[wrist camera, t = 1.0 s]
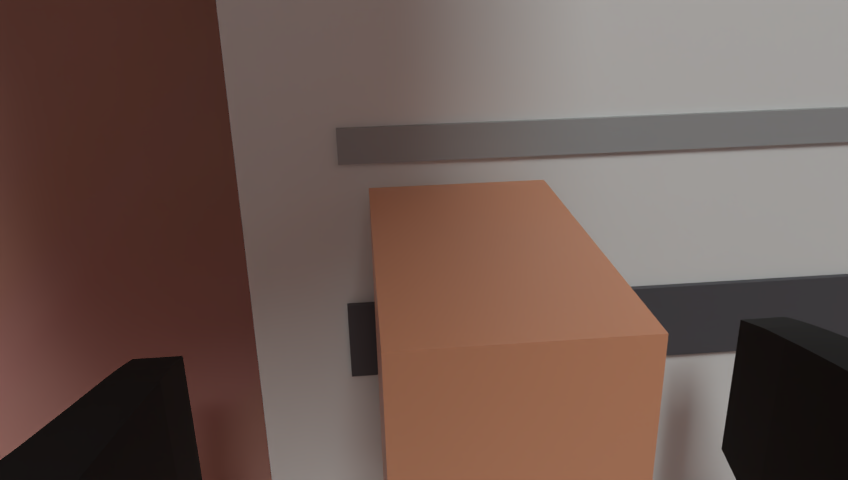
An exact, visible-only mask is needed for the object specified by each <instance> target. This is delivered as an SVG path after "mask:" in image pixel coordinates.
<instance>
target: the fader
mask: <svg viewBox="0 0 848 480" xmlns="http://www.w3.org/2000/svg"><path fill="white" fill-rule="evenodd" d="M369 203H370V223H371V242H372V262H373V282H374V302H375V321H376V341H377V361H378V381H379V401H380V420H381V440H382V460H383V480H652V479H653V470H654V461H655V452H656V443H657V434H658V425H659V416H660V407H661V398H662V389H663V380H664V371H665V362H666V353H667V344H668V335H669V334H668V332H667V331H666V330H665V329H664V327H663V326H662V325H661V324H660V322H659V321H658V320H657V319H656V317H655V316H654V315H653V314H652V313H651V311H650V310H649V309H648V308H647V306H646V305H645V304H644V303H643V301H642V300H641V299H640V298H639V296H638V295H637V294H636V293H635V292H634V290H633V289H632V288H631V287H630V285H629V284H628V283H627V282H626V280H625V279H624V278H623V277H622V276H621V274H620V273H619V272H618V271H617V269H616V268H615V267H614V266H613V264H612V263H611V262H610V261H609V259H608V258H607V257H606V256H605V255H604V253H603V252H602V251H601V250H600V248H599V247H598V246H597V245H596V243H595V242H594V241H593V240H592V239H591V237H590V236H589V235H588V234H587V232H586V231H585V230H584V229H583V227H582V226H581V225H580V224H579V222H578V221H577V220H576V219H575V218H574V216H573V215H572V214H571V213H570V211H569V210H568V209H567V208H566V206H565V205H564V204H563V203H562V201H561V200H560V199H559V198H558V197H557V195H556V194H555V193H554V192H553V190H552V189H551V188H550V187H549V185H548V184H547V183H546V182H545V181H544V180H528V181H507V182H486V183H465V184H444V185H423V186H402V187H381V188H369Z"/></svg>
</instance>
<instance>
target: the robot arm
mask: <svg viewBox="0 0 848 480" xmlns="http://www.w3.org/2000/svg"><path fill="white" fill-rule="evenodd" d="M721 449H722V451H723V453H724V455H725V458H726V460H727V462H728V464H729V466H730V468H731V470H732V472H733V474H734V476H735V478H736V480H848V338H847V337H845V336H842V335H839V334H837V333H834V332H832V331H829V330H826V329H823V328H821V327H818V326H815V325H812V324H809V323H806V322H803V321H799V320H795V319H792V318H788V317H774V318H758V319H743V320H740V327H739V334H738V341H737V347H736V354H735V361H734V368H733V374H732V381H731V388H730V394H729V401H728V408H727V415H726V421H725V428H724V435H723V442H722V448H721ZM0 480H202V476H201V469H200V463H199V457H198V450H197V444H196V438H195V432H194V425H193V419H192V413H191V406H190V400H189V394H188V388H187V381H186V375H185V369H184V362H183V356H176V357H160V358H145V359H132V360H131V361H129V362H128V363H126V364H125V365H123V366H122V367H120V368H119V369H117V370H116V371H115V372H113V373H112V374H111V375H109V376H108V377H107V378H106V379H104V380H103V381H102V382H100V383H99V384H98V385H97V386H95V387H94V388H93V389H92V390H90V391H89V392H88V393H86V394H85V395H84V396H83V397H81V398H80V399H79V400H78V401H76V402H75V403H74V404H73V405H71V406H70V407H69V408H68V409H66V410H65V411H64V412H62V413H61V414H60V415H59V416H57V417H56V418H55V419H53V420H52V421H51V422H50V423H48V424H47V425H46V426H45V427H43V428H42V429H41V430H39V431H38V432H37V433H36V434H34V435H33V436H32V437H30V438H29V439H28V440H27V441H25V442H24V443H23V444H21V445H20V446H19V447H18V448H16V449H15V450H14V451H12V452H11V453H9V454H8V455H7V456H5V457H4V458H2V459H1V460H0Z"/></svg>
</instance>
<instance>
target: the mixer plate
mask: <svg viewBox="0 0 848 480" xmlns="http://www.w3.org/2000/svg"><path fill="white" fill-rule="evenodd" d="M216 7H217V16H218V24H219V33H220V41H221V50H222V58H223V67H224V75H225V84H226V93H227V101H228V110H229V118H230V127H231V135H232V144H233V152H234V161H235V169H236V178H237V186H238V195H239V203H240V212H241V220H242V229H243V237H244V246H245V254H246V263H247V272H248V280H249V289H250V297H251V306H252V314H253V323H254V331H255V340H256V348H257V357H258V365H259V374H260V382H261V391H262V399H263V408H264V416H265V425H266V433H267V442H268V451H269V459H270V468H271V476H272V480H383V460H382V440H381V420H380V401H379V381H378V361H377V341H376V321H375V302H374V282H373V262H372V242H371V223H370V203H369V188H381V187H402V186H423V185H444V184H465V183H486V182H507V181H528V180H544V181H545V182H546V183H547V184H548V185H549V187H550V188H551V189H552V190H553V192H554V193H555V194H556V195H557V197H558V198H559V199H560V200H561V201H562V203H563V204H564V205H565V206H566V208H567V209H568V210H569V211H570V213H571V214H572V215H573V216H574V218H575V219H576V220H577V221H578V222H579V224H580V225H581V226H582V227H583V229H584V230H585V231H586V232H587V234H588V235H589V236H590V237H591V239H592V240H593V241H594V242H595V243H596V245H597V246H598V247H599V248H600V250H601V251H602V252H603V253H604V255H605V256H606V257H607V258H608V259H609V261H610V262H611V263H612V264H613V266H614V267H615V268H616V269H617V271H618V272H619V273H620V274H621V276H622V277H623V278H624V279H625V280H626V282H627V283H628V284H629V285H630V287H631V288H632V289H633V290H634V292H635V293H636V294H637V295H638V296H639V298H640V299H641V300H642V301H643V303H644V304H645V305H646V306H647V308H648V309H649V310H650V311H651V313H652V314H653V315H654V316H655V317H656V319H657V320H658V321H659V322H660V324H661V325H662V326H663V327H664V329H665V330H666V331H667V332H668V334H669V335H668V344H667V353H666V362H665V371H664V380H663V389H662V398H661V407H660V416H659V425H658V434H657V443H656V452H655V461H654V470H653V479H652V480H736V478H735V476H734V474H733V472H732V470H731V468H730V466H729V464H728V462H727V460H726V458H725V455H724V453H723V451H722V449H721V448H722V442H723V435H724V428H725V421H726V415H727V408H728V401H729V394H730V388H731V381H732V374H733V368H734V361H735V354H736V347H737V341H738V334H739V327H740V320H743V319H758V318H774V317H788V318H792V319H795V320H799V321H803V322H806V323H809V324H812V325H815V326H818V327H821V328H823V329H826V330H829V331H832V332H834V333H837V334H839V335H842V336H845V337H847V338H848V0H216Z"/></svg>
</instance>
